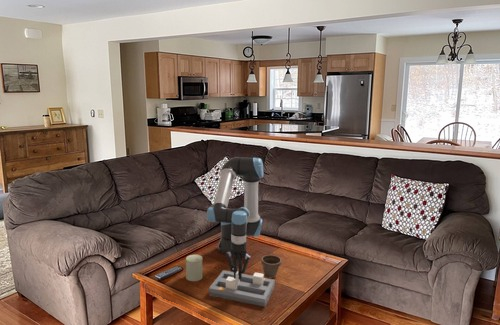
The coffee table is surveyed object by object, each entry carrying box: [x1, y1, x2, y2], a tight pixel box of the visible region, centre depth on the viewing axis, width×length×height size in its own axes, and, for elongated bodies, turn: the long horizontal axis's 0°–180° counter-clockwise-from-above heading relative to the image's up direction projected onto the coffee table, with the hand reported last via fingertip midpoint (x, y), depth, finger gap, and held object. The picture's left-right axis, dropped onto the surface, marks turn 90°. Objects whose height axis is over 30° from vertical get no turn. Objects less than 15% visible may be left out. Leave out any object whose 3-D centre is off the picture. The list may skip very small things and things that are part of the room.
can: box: [185, 254, 203, 282], centre depth 208 cm, size 9×9×12 cm
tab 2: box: [252, 272, 265, 286], centre depth 198 cm, size 4×5×6 cm
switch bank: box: [208, 269, 276, 308], centre depth 197 cm, size 20×30×4 cm, turn 73°
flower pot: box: [260, 254, 282, 279], centre depth 213 cm, size 12×11×10 cm
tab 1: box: [226, 276, 237, 290], centre depth 193 cm, size 4×5×6 cm
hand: (237, 284), depth 192 cm, fingers closed
